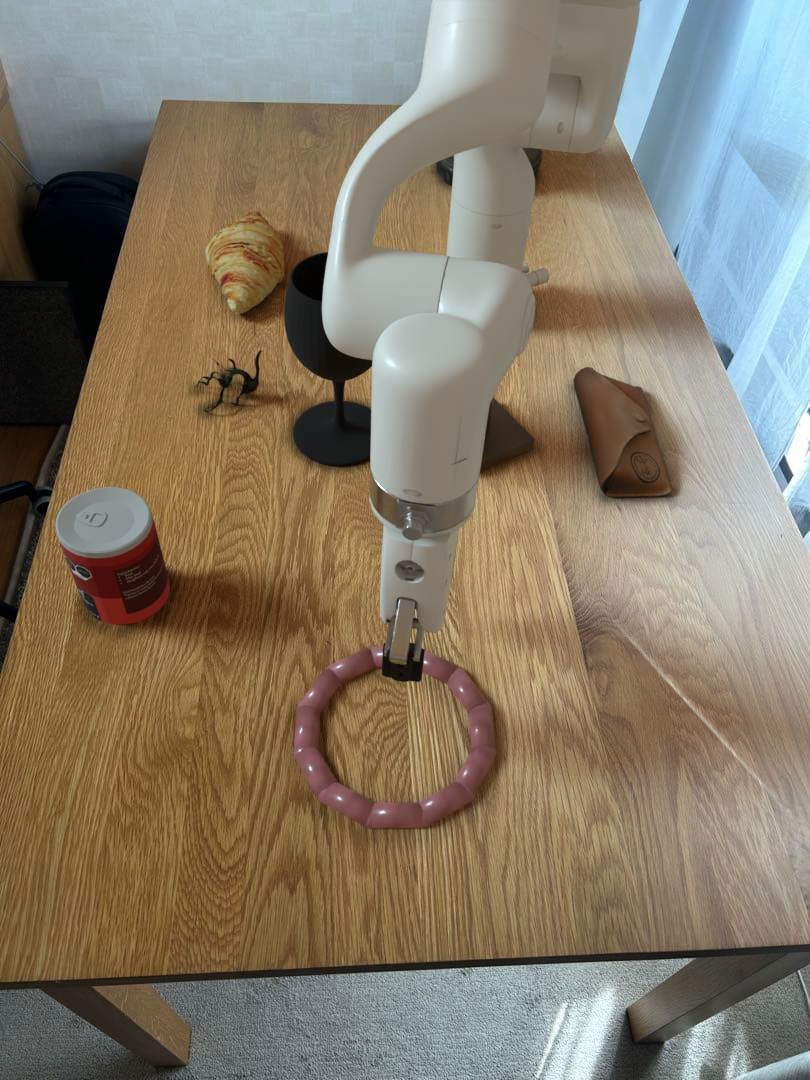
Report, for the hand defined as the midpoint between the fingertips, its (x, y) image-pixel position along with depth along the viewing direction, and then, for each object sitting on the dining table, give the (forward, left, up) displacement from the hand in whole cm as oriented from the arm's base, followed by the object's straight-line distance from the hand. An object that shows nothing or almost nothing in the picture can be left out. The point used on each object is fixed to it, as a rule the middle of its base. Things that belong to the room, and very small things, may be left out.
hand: (411, 627), depth 75 cm
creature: (-1, -42, -7) cm, 42 cm away
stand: (-22, -22, -6) cm, 32 cm away
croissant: (-14, -63, -7) cm, 64 cm away
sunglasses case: (-36, -14, -6) cm, 40 cm away
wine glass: (-9, -30, -7) cm, 32 cm away
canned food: (+19, -20, -7) cm, 28 cm away
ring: (+5, +5, -5) cm, 9 cm away
